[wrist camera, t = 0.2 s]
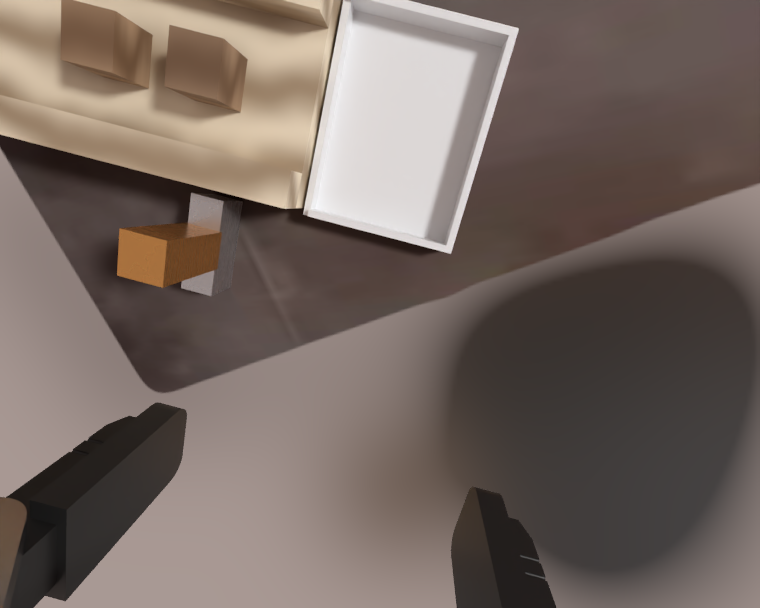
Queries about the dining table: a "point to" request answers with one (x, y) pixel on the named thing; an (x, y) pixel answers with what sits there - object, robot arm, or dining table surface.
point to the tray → (406, 119)
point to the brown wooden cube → (105, 43)
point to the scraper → (185, 247)
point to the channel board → (171, 109)
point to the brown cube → (205, 68)
